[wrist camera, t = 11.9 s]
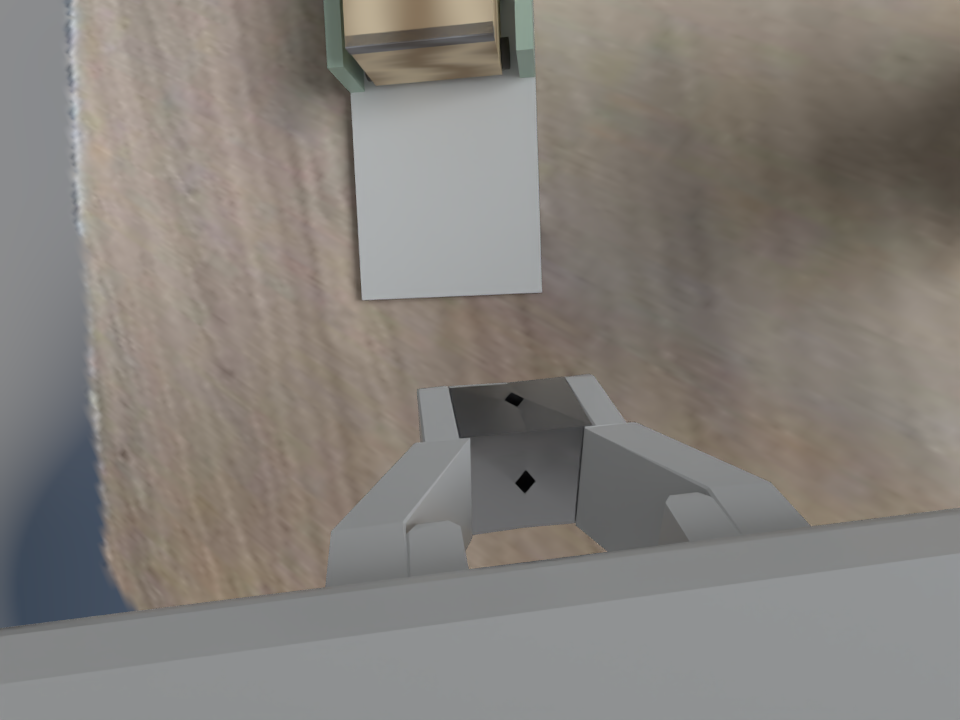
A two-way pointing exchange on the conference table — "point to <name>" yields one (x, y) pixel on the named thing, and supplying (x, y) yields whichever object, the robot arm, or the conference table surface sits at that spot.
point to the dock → (446, 173)
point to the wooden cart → (425, 39)
